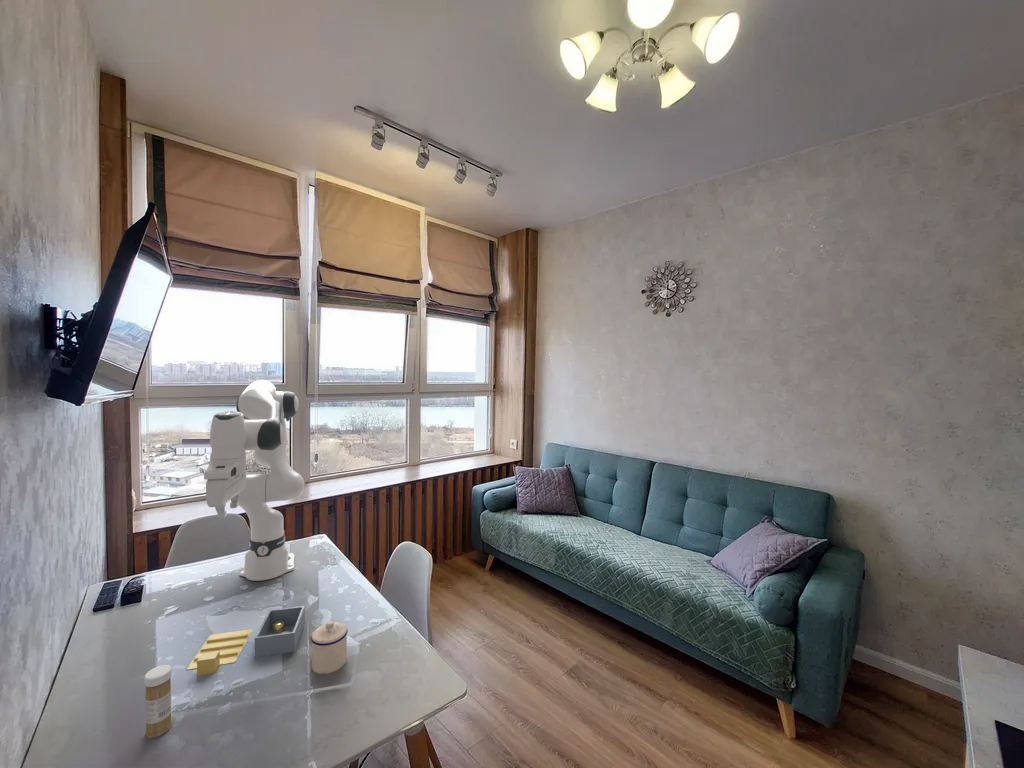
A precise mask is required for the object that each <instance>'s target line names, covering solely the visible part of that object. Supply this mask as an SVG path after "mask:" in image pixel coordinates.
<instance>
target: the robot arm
mask: <svg viewBox="0 0 1024 768" xmlns="http://www.w3.org/2000/svg"><path fill="white" fill-rule="evenodd" d="M299 401H300V400H299V398H298V396H297V394H296V393H295V392H292V391H278V390H277V389H276V386H275V385H274V384H273V383H272V382H270V381H268V380H265V379H259V380H255V381H253V382H252V383H251V384H249V385H248V386H247V387H246V388H245V389H244V390H243V391H242V392H241V394H240V396H239V397H238V398H237V400H236V403H235V409H236V411H235V410H227V411H220V412H218V413H215V414H214V415H212V420H211V426H210V433H209V444H210V448H211V452H210V455H209V464H208V467H207V468H206V470H205V471H204V473H203V479H204V480H205V481H206V482H205V497H206V498H205V500H206V505H207V506H208V507H209V508H214V509H215V512H216V513H217V516H216V517H217V519H218V520H222V519H225V518H226V517H227V510H226V506H227V505H226V504H227V503H228V502H230V503H229V508H230V509H236V508H237V507H240V508H241V509H243V511H244V512H245V513H246V515H247V517H248V519H249V525H250V538H249V543H248V546H249V548H248V549H249V550H248V551H247V552H246V553H245V555H244V566H243V568H244V569H243V570H241V571H240V572H239V576H241V577H244V578H246V579H247V580H248V581H252V582H253V581H254V582H255V581H256V582H257V581H258V582H259V581H266V580H271V579H275V578H277V577H279V576H282V575H284V574H286V573H288V572H291V571H294V570H295V553H293V552H290V551H289V544H288V543H287V542H286V535H285V534H286V530H285V529H284V515H283V514H282V512H281V511H279V510H277V509H274V508H271V507H270V506H268V504H267V503H274V502H285V501H290V500H293V499H297V498H299V497H300V496H301V495H302V494H303V492H304V490H305V479H304V477H303V476H302V475H301V474H300V473H299V472H297V471H296V470H294V469H293V468H292V467H291V465H290V463H289V462H288V458H287V424H286V422H289V421H290V420H291V418H293V417H294V416H295V415H296V414H297V413H298V410H299V406H300V402H299ZM246 451H254V454H253V458H254V461H255V462H256V463H257V464H259V465H260V466H262V467H266V468H268V469H270V472H269V473H256V474H255V473H254V474H246V473H247V472H246V471H247V469H246V468H247V453H246Z"/></svg>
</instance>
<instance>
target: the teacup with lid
mask: <svg viewBox="0 0 1024 768" xmlns="http://www.w3.org/2000/svg"><path fill="white" fill-rule="evenodd" d="M347 634H348V627H347V626H346V624H345V623H342V622H338V621H332V620H329V621H328V620H327V622H326V623H323V624H322V625H320V626H318V627H317V628H316V629H314V631H313V632H311V633H310V634H309V639H308V640H309V644H310V647H311V669H312V671H313V672H314V673H316V674H320V675H326V674H330V673H334V672H336V671H338V670H340V669H341V668H343V666H344V665H345V663H346V662H347V643H348V639H347V637H348V636H347Z"/></svg>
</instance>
